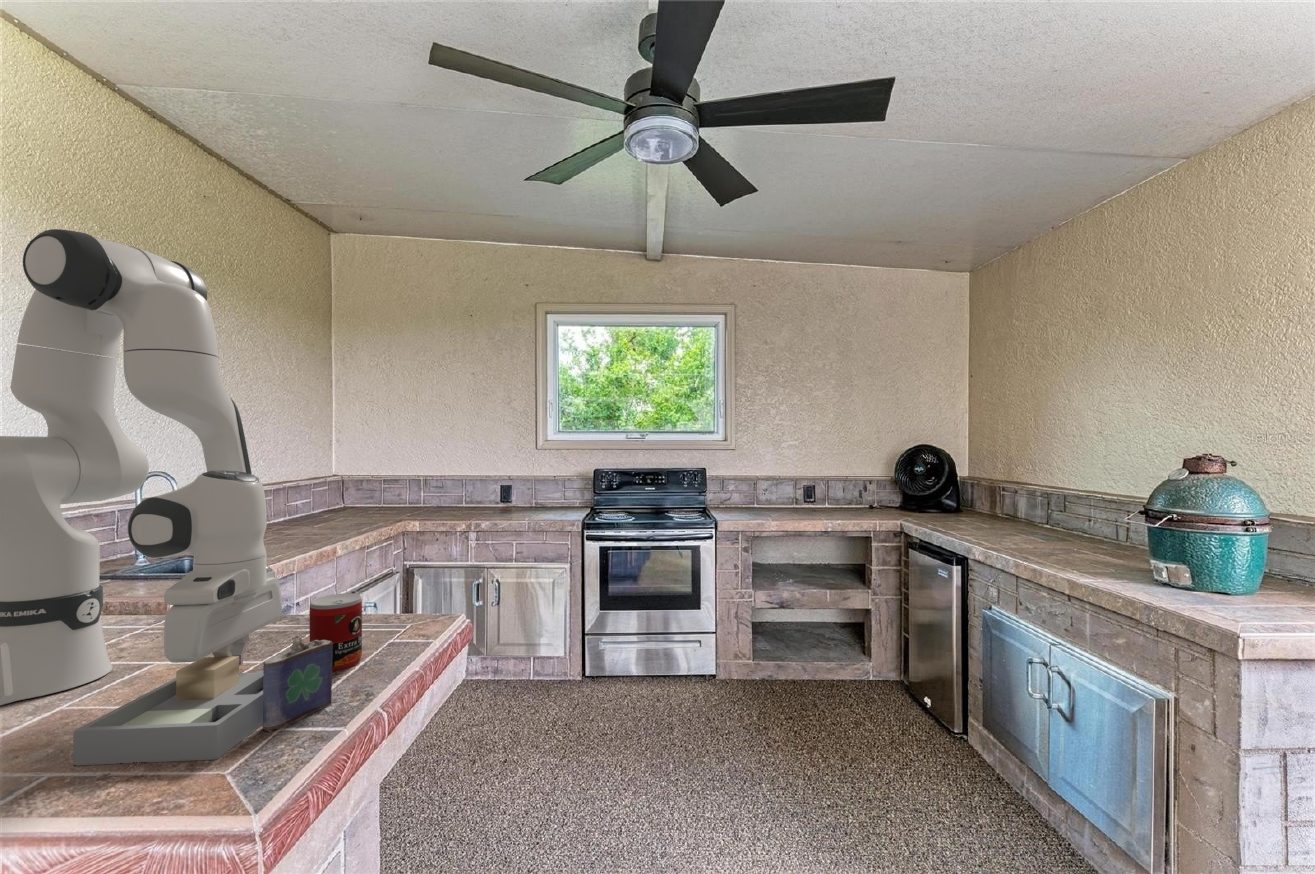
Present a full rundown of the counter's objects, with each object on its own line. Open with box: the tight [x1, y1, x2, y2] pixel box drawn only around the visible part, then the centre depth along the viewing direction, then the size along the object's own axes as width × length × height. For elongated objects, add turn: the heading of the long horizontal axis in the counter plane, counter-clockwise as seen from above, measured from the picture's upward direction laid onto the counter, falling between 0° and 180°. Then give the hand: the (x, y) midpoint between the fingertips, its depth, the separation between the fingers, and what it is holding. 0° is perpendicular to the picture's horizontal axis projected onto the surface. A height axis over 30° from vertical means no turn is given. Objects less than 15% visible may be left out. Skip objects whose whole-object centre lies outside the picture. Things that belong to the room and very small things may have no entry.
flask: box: [261, 635, 333, 733], centre depth 76 cm, size 9×3×11 cm, turn 157°
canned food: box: [308, 592, 363, 672], centre depth 94 cm, size 8×8×11 cm
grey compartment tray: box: [72, 671, 264, 767], centre depth 75 cm, size 16×21×4 cm
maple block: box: [175, 656, 240, 700], centre depth 79 cm, size 5×5×4 cm
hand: (230, 669), depth 83 cm, fingers closed
